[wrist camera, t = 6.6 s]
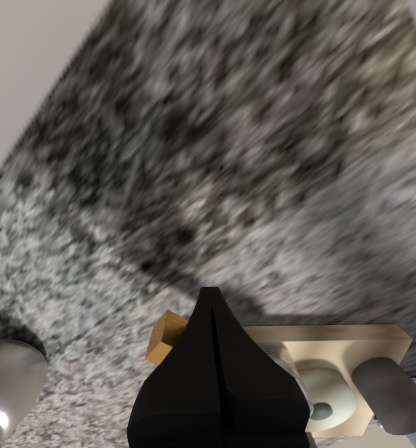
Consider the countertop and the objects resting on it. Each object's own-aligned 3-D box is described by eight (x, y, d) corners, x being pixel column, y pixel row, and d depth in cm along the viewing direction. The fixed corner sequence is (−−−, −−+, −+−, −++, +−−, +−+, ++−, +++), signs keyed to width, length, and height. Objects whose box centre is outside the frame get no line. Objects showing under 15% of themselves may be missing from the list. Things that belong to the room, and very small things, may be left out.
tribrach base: (395, 324, 17) (463, 383, 13) (349, 422, 22) (385, 488, 18) (193, 326, 16) (191, 390, 12) (193, 428, 21) (192, 499, 17)
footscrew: (180, 286, 13) (174, 327, 10) (301, 358, 16) (326, 407, 13) (147, 323, 14) (133, 371, 11) (267, 385, 17) (282, 436, 14)
